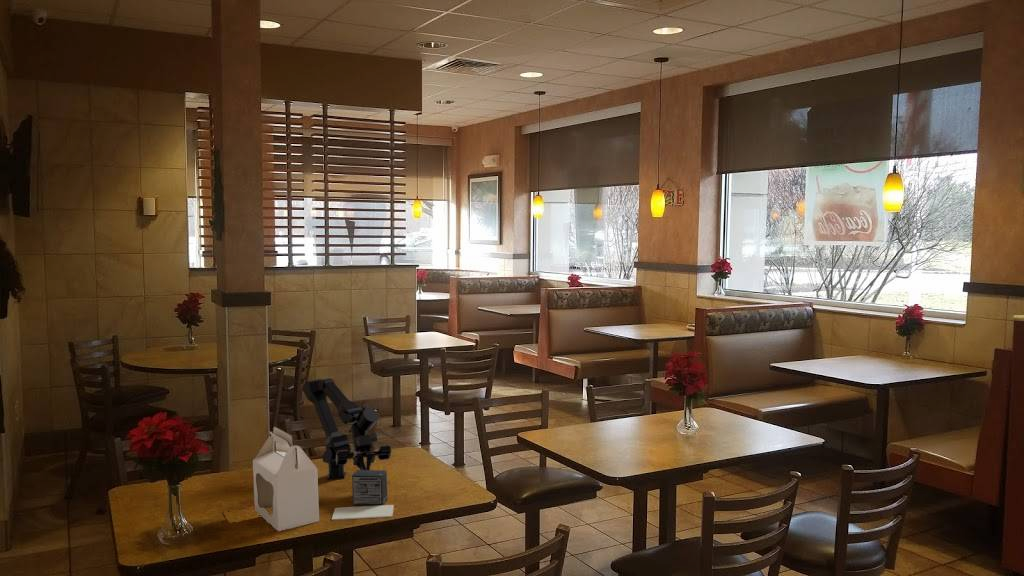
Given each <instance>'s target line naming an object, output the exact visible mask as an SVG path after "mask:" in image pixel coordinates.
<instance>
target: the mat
mask: <svg viewBox="0 0 1024 576" xmlns="http://www.w3.org/2000/svg"><path fill="white" fill-rule="evenodd" d="M394 506H395V505H394V504H384V505H380V506H345V507H344V506H343V507H335V508H334V511H333V514H332V517H331V521H344V520H362V519H378V518H379V519H380V518H393V516H394V515H393V514H394V508H395V507H394Z"/></svg>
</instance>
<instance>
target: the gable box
mask: <svg viewBox="0 0 1024 576" xmlns="http://www.w3.org/2000/svg"><path fill="white" fill-rule="evenodd" d="M268 433H269V434H270V436H268V437H267V439H266V440H265V441H264V443H263V445H262V447H261V448H260V449H259V451H258V452H257V454H256V455H255V457H254V458H253V459H252V472H253V473H252V475H253V495H254V496H253V500H254V505H255V511H256V512H257V513H258V514H259V515H260V516H262V517H263V518H264V519H265V520H266V521H265V520H264V519H263V518H262V517H261V518H262V519H263V520H264V521H265V522H266V523H268V524H269V523H270V524H271V525H272V526H271V525H270V524H269V525H270V526H271V527H272V528H274V530H276V531H277V532H281V531H282V530H283V531H286V529H287V530H290V529H294V528H298V527H302V526H307V525H309V524H310V525H311V524H315V523H318V522H319V521H320V506H319V483H318V479H319V478H318V467H317V466H316V465H315V464H314V462H312V460H311V459H310V458H309V457H308V455H307V454H306V452H305V451H304V450H303V448H302V447H301V446H299V445H295V441H294V436H293V435H292V434H290V433H288V432H286V431H284V430H282V429H281V428H279V427H277V426H274V427H273V430H272V431H271V430H269V431H268ZM271 507H272V508H273V509H271V510H273V511H272V512H273V514H270V513H269V511H268V510H267V509H266V508H271ZM283 531H282V532H283Z"/></svg>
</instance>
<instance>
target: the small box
mask: <svg viewBox="0 0 1024 576" xmlns="http://www.w3.org/2000/svg"><path fill="white" fill-rule="evenodd" d="M387 473H388V472H387V469H386V470H383V469H381V470H380V469H379V470H378V469H377V470H376V469H375V470H374V469H371V470H360V469H357V470H356V471H355V472H354V473H353V474H351V479H352V480H351V481H352V482H351V483H352V486H351V487H352V506H353V505H362V506H380V505H386V503H387V501H388V500H389V499H388V478H387V477H388V476H387V475H388V474H387Z"/></svg>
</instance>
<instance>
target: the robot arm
mask: <svg viewBox="0 0 1024 576" xmlns="http://www.w3.org/2000/svg"><path fill="white" fill-rule="evenodd" d="M302 391H303V394H304V396H305V397H306V399H307V400H308V401H309V402H311V403H312V404H313V405H314V408H315V410H316V411H315V412H316V413H317V416H318V419H319V422H320V424H321V427H322V430H323V432H324V434H325V437H326V440H325V445H324V446H325V451H324V453H323V454H322V456H321V458H322V462H323V463H325V464H327V465H328V467H327V470H328V473H327V476H326V480H339V479H341V480H342V479H345V478H346V476H347V472H346V471H345V465H346V464H347V463H348V460H352V462H353V463H352V465H353V466H356V467H357V468H358V470H370V469H371V466H372V464H374V463H375V459H376V457H377V459H379V460H380V461H385V460H389V459H390V458H391V455H392V447H391V445H390V444H384V445H378V449H375V450H372V449H373V444H374V443H377V442H378V435H377V432H371V433H370V434H369V431H370V429H372V428H373V427H374V425H375V424H376V422H378V420H379V417H380V415H379V413H378V412H377V410H375V409H373V408H370V406H369V405H366V406H365V405H364V406H363V408H361V406H360V405H359V404H357V403H356V402H355V401H351V400H349V399H348V398H347V397H346V395H345V394H344V392H342V390H340V388H339V387H338V386H337V385H336V383H335V380H334V379H333V378H330V377H329V378H317V379H312V380H306V381H305V382H304V383H303V385H302ZM327 397H328V399H329V400H330V402H332V404H333V406H335V407H336V409H337V410H338V412H337V416H338V417H339V419H340V421H341V423H343V425H347V424H352V425H351V426H350V428H349V431H348V433H351V437H352V445H353V450H354V451H353V452H351V449H352V447H351V445H350V444H351V443H350V442H349V439H348V436H347V435H346V433H345V434H342V433H340V430H339V428H338V425H337V423H336V420H335V417H334V416H333V412H332V410H331V408H330V405H329V403H328V400H327ZM364 458H365V459H364Z"/></svg>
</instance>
